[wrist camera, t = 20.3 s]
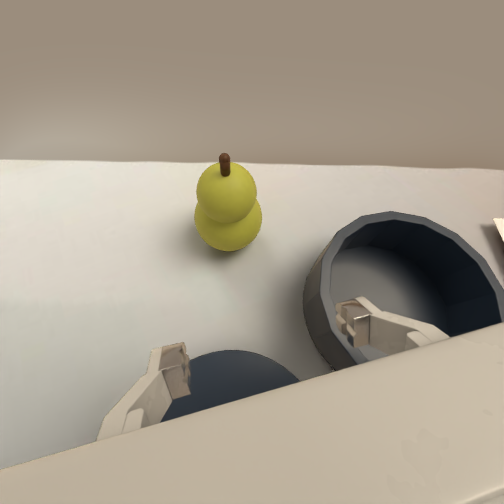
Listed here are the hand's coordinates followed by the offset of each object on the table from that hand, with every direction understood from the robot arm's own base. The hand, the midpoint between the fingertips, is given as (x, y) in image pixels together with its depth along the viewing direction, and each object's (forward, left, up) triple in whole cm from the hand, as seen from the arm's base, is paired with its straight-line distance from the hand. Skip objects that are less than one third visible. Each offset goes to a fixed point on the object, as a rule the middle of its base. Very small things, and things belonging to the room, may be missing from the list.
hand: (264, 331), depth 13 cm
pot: (+12, +1, -9) cm, 15 cm away
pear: (0, +11, -9) cm, 14 cm away
